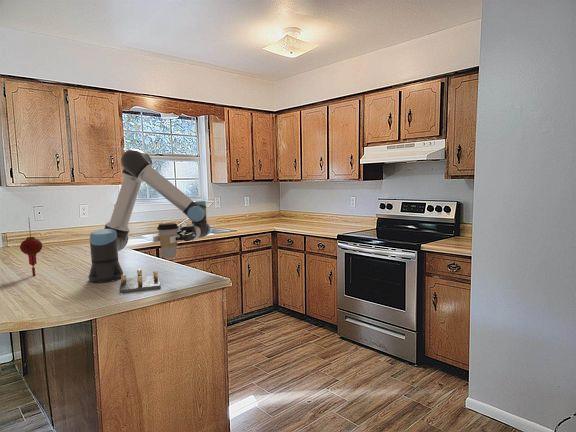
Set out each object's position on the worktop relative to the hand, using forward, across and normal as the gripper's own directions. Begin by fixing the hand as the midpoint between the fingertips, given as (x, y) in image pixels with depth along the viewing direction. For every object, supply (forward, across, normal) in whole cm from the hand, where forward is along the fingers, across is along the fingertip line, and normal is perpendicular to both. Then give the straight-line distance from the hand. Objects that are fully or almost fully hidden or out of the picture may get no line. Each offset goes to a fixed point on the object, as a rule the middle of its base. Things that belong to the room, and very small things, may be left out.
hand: (162, 239), depth 169 cm
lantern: (+1, +77, -21) cm, 80 cm away
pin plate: (+5, +9, -20) cm, 23 cm away
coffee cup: (-5, 0, -9) cm, 10 cm away
